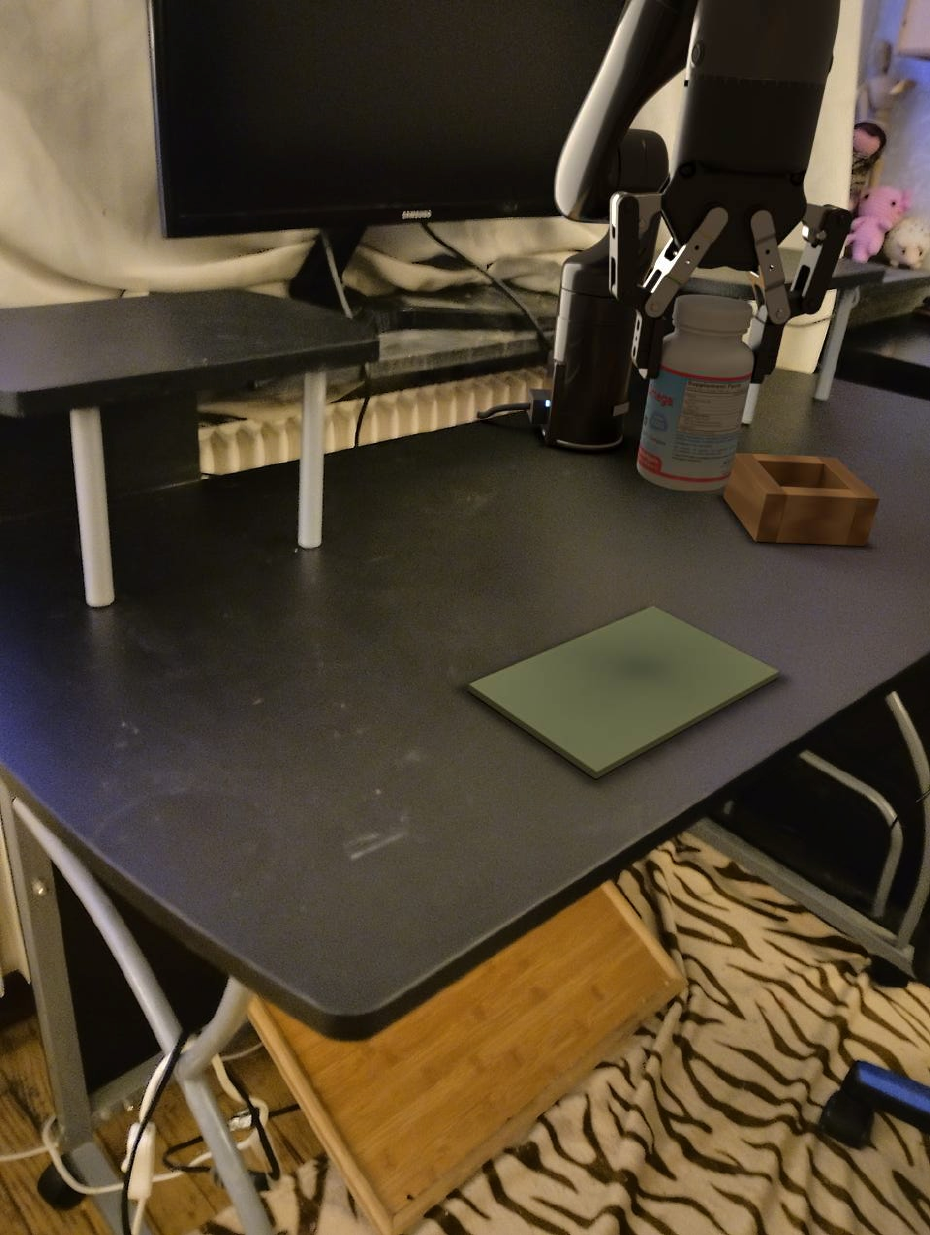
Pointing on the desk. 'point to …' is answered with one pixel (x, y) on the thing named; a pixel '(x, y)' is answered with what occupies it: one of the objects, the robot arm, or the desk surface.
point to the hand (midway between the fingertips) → (699, 377)
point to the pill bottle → (698, 395)
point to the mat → (622, 688)
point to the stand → (800, 500)
